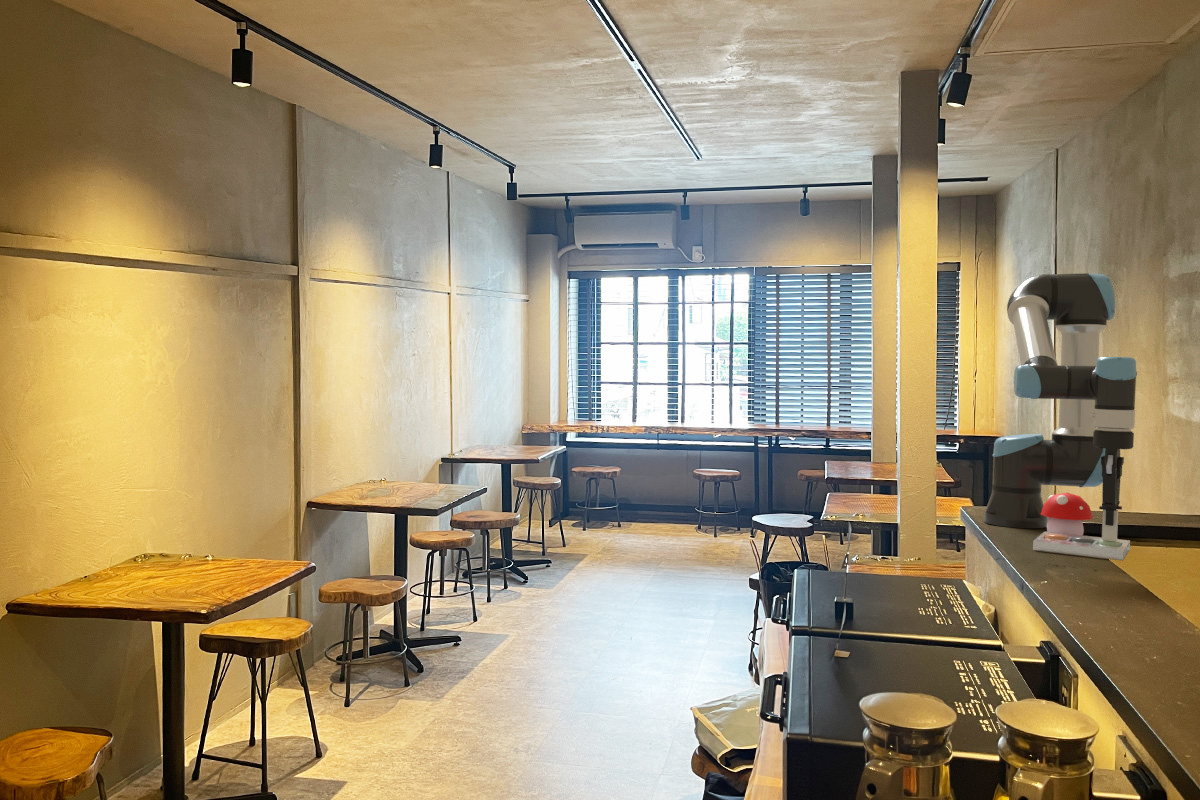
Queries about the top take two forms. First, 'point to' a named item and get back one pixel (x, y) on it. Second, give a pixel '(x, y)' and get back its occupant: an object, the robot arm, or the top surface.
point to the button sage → (1109, 542)
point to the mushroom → (1066, 513)
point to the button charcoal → (1082, 539)
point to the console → (1081, 547)
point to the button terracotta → (1055, 536)
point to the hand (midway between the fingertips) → (1109, 540)
